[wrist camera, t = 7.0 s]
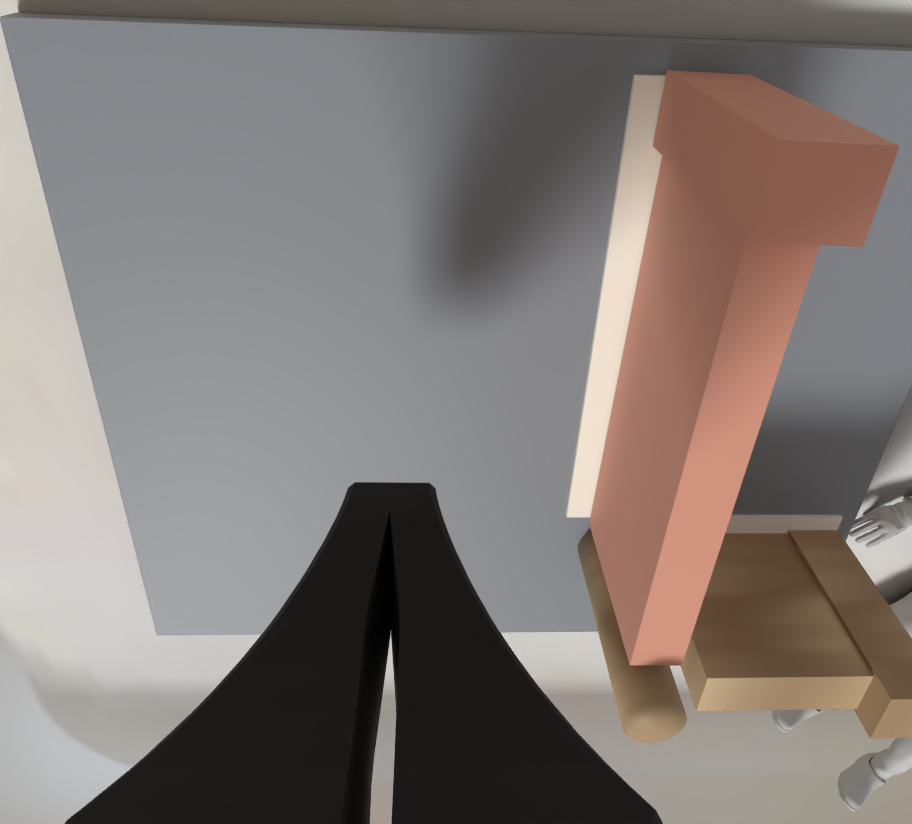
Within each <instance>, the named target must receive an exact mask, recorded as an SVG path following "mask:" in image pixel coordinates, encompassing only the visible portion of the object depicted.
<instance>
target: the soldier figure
mask: <svg viewBox="0 0 912 824" xmlns="http://www.w3.org/2000/svg"><path fill="white" fill-rule="evenodd" d="M871 520H873V521H871ZM868 521H871V522H869V523H867V524H865V525H863V526H861V527H859V528H857V529H855V530H853V531H852V532H850V536H852V537H853V536H856V535H859V534H860V533H863V532H865V531H867V530H870V529H872V528H875V527H878V528H877V529H875V530H873V531H871V532H869V533H866V534H864V535H862V536H860V537H858V538H856V540H855V541H856V542H857V543H861V542H863V541H866V540H869V539H871V538H873V537H876V536H878V535H881V534H882V535H881V536H879V537H877V538H876V539H874V540H872V541H870V542H868V543H867V544H866V547H868V548H870V547H872V546H874V545H877V544H879V543H881V542H883V541H885V540H887V539H889V538H891V537H893V536H895V535H897V534H898V533H900V532H901V531H903V530H905V529H906V528H907V527H909V526H910V525H912V496H907V497H905V498H904V500H903V502H899V503H896V504H894V505H888V506H881V507H878V508H877V509H875V510H872V511H870V512H869V513H867V514H866V515H864V516H862V517H860V518H858V519H856V520H855V521H854V523H853V525H852V528H854V527H856V526H858V525H860V524H863V523H865V522H868ZM852 528H851V529H852ZM883 533H884V534H883ZM889 606H890V607H891V609H892V610H893V612H894V613H895V615H896V616H897V618H898V619H899V621H900V622H901V624H902V625H903V626H904V628H905V629H906V631H907V632H908V634H909V635H910V637H911V638H912V591H911V592H910V593H909V594H907V595H906V596H905V597H904V598H902V599H900V600H899V601H897V602H895V603H893V604H891V605H889ZM821 711H824V709H797V710H772V717H773V719H774V721H775V723H776V725H777V726H778V728H779V729H780V730H781V731H782V732H788V731H790V730H791V729H793V728H794V727H796V726H797V725H799V724H800V723H802V722H803V721H804V720H806V719H808V718H809V717H811V716H813V715H814V714H818V713H820V712H821ZM910 768H912V738H896V739H895V740H894V741H893V742H892V744H891V746H890V747H889V748H888V749H885V750H883V751H881V752H879V753H869V754H866V755H864V756H862V757H860V758H859V759H858V760H857V761H855V763H854V764H853V765H851V766H850V767H849V768H848V769H846V770H845V771H843V772H842V773H840V776H839V780H838V789H839V793H840V796H841V798H842V800H843V801H844V803H845V804H846V806H847V807H848V808H849V809H850V810H852V811H855V810H857V809H858V808H859V807H861V806H862V805H863V803H864V802H865V801H866V800H867V799H868V797H869V796H870V795H871V793H872V792H873V791H874V790H875V789H876V788H877V787H879V786H881V785H883V784H885V782H886V780H887V779H888V778H889V777H891V776H892V775H894V774H900V773H903V772H905V771H907V770H908V769H910Z"/></svg>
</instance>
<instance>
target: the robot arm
mask: <svg viewBox="0 0 912 824" xmlns="http://www.w3.org/2000/svg"><path fill="white" fill-rule="evenodd" d="M390 634H391V638H392V653H393V668H394V683H395V699H396V737H395V761H394V783H393V807H392V824H663V823H662V821H661V819H660V817H659V815H658V813H657V811H656V810H655V809H654V808H653V807H652V806H651V805H650V804H649V803H647V802H646V801H645V800H644V799H643V798H642V797H641V796H640V795H639V794H638V793H637V792H636V791H634V790H633V789H632V788H631V787H630V786H629V785H628V784H627V783H626V782H625V781H624V780H623V779H622V778H621V777H620V776H619V775H618V774H617V773H616V772H615V771H614V770H613V769H612V768H611V767H610V766H609V765H608V764H607V763H606V762H605V761H604V760H603V759H602V758H601V757H600V756H599V755H598V754H597V753H596V752H595V751H594V750H593V749H592V748H591V747H590V746H589V744H588V743H587V742H586V741H585V740H584V739H583V738H582V737H581V736H580V735H579V734H578V733H577V732H576V731H575V729H574V728H573V727H572V726H571V725H570V723H569V722H568V721H567V720H566V719H565V717H564V716H563V715H562V714H561V713H560V712H559V710H558V709H557V708H556V707H555V706H554V704H553V703H552V702H551V701H550V700H549V699H548V697H547V696H546V695H545V694H544V693H543V691H542V690H541V689H540V688H539V687H538V685H537V684H536V683H535V681H534V680H533V679H532V677H531V676H530V675H529V673H528V672H527V670H526V669H525V668H524V666H523V665H522V664H521V662H520V661H519V660H518V658H517V657H516V655H515V654H514V652H513V651H512V649H511V648H510V647H509V645H508V644H507V642H506V641H505V639H504V638H503V636H502V635H501V633H500V631H499V630H498V628H497V627H496V625H495V623H494V622H493V620H492V619H491V617H490V615H489V613H488V612H487V610H486V608H485V606H484V605H483V603H482V601H481V599H480V598H479V596H478V594H477V592H476V590H475V589H474V587H473V585H472V583H471V581H470V579H469V577H468V575H467V573H466V571H465V569H464V567H463V564H462V562H461V560H460V558H459V556H458V554H457V552H456V550H455V547H454V545H453V543H452V540H451V538H450V535H449V533H448V530H447V527H446V525H445V522H444V519H443V516H442V513H441V510H440V506H439V503H438V498H437V493H436V488H435V487H434V486H432V485H431V484H430V483H395V482H354V483H353V484H352V485H351V486H350V487H348V489H347V492H346V495H345V498H344V500H343V503H342V505H341V508H340V510H339V512H338V514H337V516H336V518H335V520H334V522H333V524H332V526H331V528H330V530H329V532H328V534H327V536H326V538H325V540H324V541H323V543H322V545H321V547H320V548H319V550H318V552H317V553H316V555H315V557H314V559H313V560H312V562H311V564H310V565H309V567H308V569H307V570H306V572H305V574H304V575H303V577H302V578H301V580H300V581H299V583H298V584H297V586H296V587H295V589H294V590H293V592H292V593H291V595H290V596H289V597H288V599H287V600H286V602H285V603H284V605H283V606H282V608H281V609H280V611H279V612H278V613H277V615H276V616H275V618H274V619H273V620H272V622H271V623H270V624H269V626H268V627H267V628H266V630H265V631H264V632H263V633H262V635H261V636H260V637H259V638H258V640H257V641H256V642H255V643H254V645H253V646H252V647H251V648H250V649H249V651H248V652H247V653H246V654H245V656H244V657H243V658H242V659H241V660H240V661H239V663H238V664H237V665H236V666H235V667H234V668H233V669H232V670H231V671H230V673H229V674H228V675H227V676H226V677H225V678H224V679H223V680H222V681H221V683H220V684H219V685H218V686H217V687H216V688H215V689H214V690H213V691H212V692H211V693H210V695H209V696H208V697H207V698H206V699H205V700H204V701H203V702H202V703H201V704H200V705H199V706H198V707H197V708H196V709H195V710H194V711H193V712H192V713H191V714H190V715H189V716H188V717H187V718H186V719H184V720H183V721H182V722H181V723H180V724H179V725H178V726H177V727H176V728H175V729H174V730H173V731H172V732H171V733H170V734H169V735H167V736H166V737H165V738H164V739H163V740H162V741H161V742H160V743H159V744H158V745H157V746H156V747H155V748H154V749H153V750H151V751H150V752H149V753H148V754H147V755H146V756H145V757H144V758H143V759H142V760H140V761H139V762H138V763H137V764H136V765H135V766H133V767H132V768H131V769H130V770H129V771H127V772H126V773H125V774H124V775H123V776H121V777H120V778H119V779H118V780H116V781H115V782H114V783H113V784H111V785H110V786H109V787H108V788H107V789H105V790H104V791H103V792H102V793H100V794H99V795H98V796H97V797H95V798H94V799H93V800H92V801H91V802H89V803H88V804H87V805H86V806H85V807H83V808H82V809H81V810H79V811H78V812H77V813H76V814H74V815H73V816H72V817H70V819H68V820H67V821H66V823H65V824H370V802H371V782H372V772H373V761H374V752H375V745H376V737H377V730H378V723H379V715H380V708H381V701H382V693H383V686H384V679H385V671H386V664H387V656H388V649H389V641H390Z"/></svg>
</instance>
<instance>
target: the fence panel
mask: <svg viewBox="0 0 912 824" xmlns="http://www.w3.org/2000/svg"><path fill="white" fill-rule="evenodd" d="M653 147H654V148H655V149H656V150H657V151H658V152H659V153H660V154H661V155H662V159H661V164H660V169H659V174H658V179H657V184H656V189H655V195H654V200H653V205H652V210H651V215H650V220H649V225H648V230H647V235H646V240H645V245H644V250H643V255H642V260H641V265H640V270H639V275H638V280H637V285H636V290H635V295H634V300H633V305H632V310H631V315H630V320H629V325H628V330H627V335H626V340H625V345H624V350H623V355H622V360H621V365H620V370H619V375H618V380H617V385H616V391H615V396H614V401H613V406H612V411H611V416H610V421H609V426H608V431H607V436H606V441H605V446H604V451H603V456H602V461H601V466H600V471H599V476H598V481H597V486H596V491H595V496H594V501H593V506H592V511H591V516H590V521H589V525H590V528H591V532H592V535H593V539H594V542H595V546H596V549H597V553H598V556H599V560H600V563H601V567H602V570H603V574H604V577H605V581H606V584H607V588H608V591H609V595H610V598H611V602H612V605H613V609H614V612H615V616H616V619H617V623H618V626H619V630H620V633H621V637H622V640H623V644H624V647H625V650H626V654H627V657H628V661H629V664H630V665H682V663H683V660H684V657H685V654H686V651H687V648H688V645H689V642H690V639H691V636H692V633H693V630H694V627H695V624H696V621H697V618H698V615H699V611H700V608H701V605H702V602H703V599H704V596H705V593H706V590H707V587H708V584H709V581H710V578H711V575H712V572H713V569H714V566H715V563H716V560H717V557H718V554H719V551H720V548H721V545H722V542H723V539H724V536H725V532H726V529H727V526H728V523H729V520H730V517H731V514H732V511H733V508H734V505H735V502H736V499H737V496H738V493H739V490H740V487H741V484H742V481H743V478H744V475H745V472H746V469H747V466H748V463H749V460H750V457H751V453H752V450H753V447H754V444H755V441H756V438H757V435H758V432H759V429H760V426H761V423H762V420H763V417H764V414H765V411H766V408H767V405H768V402H769V399H770V396H771V393H772V390H773V387H774V384H775V381H776V378H777V374H778V371H779V368H780V365H781V362H782V359H783V356H784V353H785V350H786V347H787V344H788V341H789V338H790V335H791V332H792V329H793V326H794V323H795V320H796V317H797V314H798V311H799V308H800V305H801V302H802V299H803V295H804V292H805V289H806V286H807V283H808V280H809V277H810V274H811V271H812V268H813V265H814V262H815V259H816V256H817V253H818V250H819V247H820V245H825V246H850V247H863V246H864V243H865V240H866V238H867V235H868V232H869V229H870V227H871V224H872V221H873V218H874V216H875V213H876V210H877V207H878V204H879V202H880V199H881V196H882V193H883V191H884V188H885V185H886V182H887V180H888V177H889V174H890V171H891V169H892V166H893V163H894V160H895V157H896V155H897V152H898V149H899V146H898V145H896V144H894V143H892V142H890V141H888V140H886V139H884V138H882V137H880V136H878V135H875V134H873V133H871V132H869V131H867V130H865V129H863V128H861V127H859V126H857V125H855V124H852V123H850V122H848V121H846V120H844V119H842V118H840V117H838V116H836V115H834V114H832V113H829V112H827V111H825V110H823V109H821V108H819V107H817V106H815V105H813V104H811V103H809V102H806V101H804V100H802V99H800V98H798V97H796V96H794V95H792V94H790V93H788V92H786V91H783V90H781V89H779V88H777V87H775V86H773V85H771V84H769V83H767V82H765V81H763V80H760V79H758V78H756V77H754V76H752V75H745V74H727V73H709V72H691V71H672V70H667V73H666V78H665V84H664V89H663V94H662V99H661V105H660V110H659V115H658V120H657V126H656V131H655V136H654V141H653Z"/></svg>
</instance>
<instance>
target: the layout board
mask: <svg viewBox="0 0 912 824" xmlns="http://www.w3.org/2000/svg"><path fill="white" fill-rule="evenodd" d="M0 22H1V25H2V29H3V33H4V37H5V41H6V45H7V49H8V53H9V57H10V61H11V65H12V69H13V73H14V77H15V80H16V84H17V88H18V92H19V96H20V100H21V104H22V108H23V112H24V116H25V120H26V124H27V128H28V131H29V135H30V139H31V143H32V147H33V151H34V155H35V159H36V163H37V167H38V171H39V175H40V179H41V182H42V186H43V190H44V194H45V198H46V202H47V206H48V210H49V214H50V218H51V222H52V226H53V230H54V234H55V237H56V241H57V245H58V249H59V253H60V257H61V261H62V265H63V269H64V273H65V277H66V281H67V285H68V288H69V292H70V296H71V300H72V304H73V308H74V312H75V316H76V320H77V324H78V328H79V332H80V336H81V340H82V343H83V347H84V351H85V355H86V359H87V363H88V367H89V371H90V375H91V379H92V383H93V387H94V391H95V394H96V398H97V402H98V406H99V410H100V414H101V418H102V422H103V426H104V430H105V434H106V438H107V442H108V445H109V449H110V453H111V457H112V461H113V465H114V469H115V473H116V477H117V481H118V485H119V489H120V493H121V497H122V500H123V504H124V508H125V512H126V516H127V520H128V524H129V528H130V532H131V536H132V540H133V544H134V548H135V551H136V555H137V559H138V563H139V567H140V571H141V575H142V579H143V583H144V587H145V591H146V595H147V599H148V603H149V606H150V610H151V614H152V618H153V622H154V626H155V630H156V634H157V635H255V634H262V633H263V632H264V631H265V630H266V628H267V627H268V626H269V624H270V623H271V622H272V620H273V619H274V618H275V616H276V615H277V613H278V612H279V611H280V609H281V608H282V606H283V605H284V603H285V602H286V600H287V599H288V597H289V596H290V595H291V593H292V592H293V590H294V589H295V587H296V586H297V584H298V583H299V581H300V580H301V578H302V577H303V575H304V574H305V572H306V570H307V569H308V567H309V565H310V564H311V562H312V560H313V559H314V557H315V555H316V553H317V552H318V550H319V548H320V547H321V545H322V543H323V541H324V540H325V538H326V536H327V534H328V532H329V530H330V528H331V526H332V524H333V522H334V520H335V518H336V516H337V514H338V512H339V510H340V508H341V505H342V503H343V500H344V498H345V495H346V492H347V489H348V487H350V486H351V485H352V484H353V483H354V482H395V483H430V484H431V485H432V486H434V487H435V488H436V493H437V498H438V503H439V506H440V510H441V513H442V516H443V519H444V522H445V525H446V527H447V530H448V533H449V535H450V538H451V540H452V543H453V545H454V547H455V550H456V552H457V554H458V556H459V558H460V560H461V562H462V564H463V567H464V569H465V571H466V573H467V575H468V577H469V579H470V581H471V583H472V585H473V587H474V589H475V590H476V592H477V594H478V596H479V598H480V599H481V601H482V603H483V605H484V606H485V608H486V610H487V612H488V613H489V615H490V617H491V619H492V620H493V622H494V623H495V625H496V627H497V628H498V630H499V631H500V632H593V631H598V629H597V625H596V621H595V617H594V613H593V609H592V605H591V601H590V597H589V594H588V590H587V586H586V582H585V578H584V574H583V570H582V566H581V562H580V558H579V554H578V549H577V548H578V544H579V541H580V540H581V538H582V537H583V536H584V535H585V534H587V533H588V532H590V531H591V528H590V525H589V521H590V516H591V511H592V506H593V501H594V496H595V491H596V486H597V481H598V476H599V471H600V466H601V461H602V456H603V451H604V446H605V441H606V436H607V431H608V426H609V421H610V416H611V411H612V406H613V401H614V396H615V391H616V385H617V380H618V375H619V370H620V365H621V360H622V355H623V350H624V345H625V340H626V335H627V330H628V325H629V320H630V315H631V310H632V305H633V300H634V295H635V290H636V285H637V280H638V275H639V270H640V265H641V260H642V255H643V250H644V245H645V240H646V235H647V230H648V225H649V220H650V215H651V210H652V205H653V200H654V195H655V189H656V184H657V179H658V174H659V169H660V164H661V159H662V155H661V154H660V153H659V152H658V151H657V150H656V149H655V148H654V147H653V141H654V136H655V131H656V126H657V120H658V115H659V110H660V105H661V99H662V94H663V89H664V84H665V78H666V73H667V70H672V71H691V72H709V73H727V74H745V75H752V76H754V77H756V78H758V79H760V80H763V81H765V82H767V83H769V84H771V85H773V86H775V87H777V88H779V89H781V90H783V91H786V92H788V93H790V94H792V95H794V96H796V97H798V98H800V99H802V100H804V101H806V102H809V103H811V104H813V105H815V106H817V107H819V108H821V109H823V110H825V111H827V112H829V113H832V114H834V115H836V116H838V117H840V118H842V119H844V120H846V121H848V122H850V123H852V124H855V125H857V126H859V127H861V128H863V129H865V130H867V131H869V132H871V133H873V134H875V135H878V136H880V137H882V138H884V139H886V140H888V141H890V142H892V143H894V144H896V145H898V146H899V149H898V152H897V155H896V157H895V160H894V163H893V166H892V169H891V171H890V174H889V177H888V180H887V182H886V185H885V188H884V191H883V193H882V196H881V199H880V202H879V204H878V207H877V210H876V213H875V216H874V218H873V221H872V224H871V227H870V229H869V232H868V235H867V238H866V240H865V243H864V246H863V247H850V246H825V245H820V247H819V250H818V253H817V256H816V259H815V262H814V265H813V268H812V271H811V274H810V277H809V280H808V283H807V286H806V289H805V292H804V295H803V299H802V302H801V305H800V308H799V311H798V314H797V317H796V320H795V323H794V326H793V329H792V332H791V335H790V338H789V341H788V344H787V347H786V350H785V353H784V356H783V359H782V362H781V365H780V368H779V371H778V374H777V378H776V381H775V384H774V387H773V390H772V393H771V396H770V399H769V402H768V405H767V408H766V411H765V414H764V417H763V420H762V423H761V426H760V429H759V432H758V435H757V438H756V441H755V444H754V447H753V450H752V453H751V457H750V460H749V463H748V466H747V469H746V472H745V475H744V478H743V481H742V484H741V487H740V490H739V493H738V496H737V499H736V502H735V505H734V508H733V511H732V514H731V517H730V520H729V523H728V526H727V529H726V532H725V533H788V531H789V530H838V532H839V533H840V535H841V536H842V538H843V539H844V540H845V542H846V540H847V537H848V535H849V532H850V530H851V528H852V525H853V523H854V521H855V518H856V516H857V514H858V511H859V509H860V506H861V504H862V502H863V499H864V497H865V495H866V492H867V490H868V488H869V485H870V483H871V480H872V478H873V476H874V473H875V471H876V469H877V466H878V464H879V462H880V459H881V457H882V454H883V452H884V450H885V447H886V445H887V443H888V440H889V438H890V436H891V433H892V431H893V428H894V426H895V424H896V421H897V419H898V417H899V414H900V412H901V410H902V407H903V405H904V402H905V400H906V398H907V395H908V393H909V391H910V388H911V386H912V47H905V46H879V45H852V44H826V43H800V42H773V41H747V40H721V39H694V38H668V37H642V36H616V35H589V34H563V33H537V32H510V31H484V30H458V29H431V28H405V27H379V26H352V25H326V24H300V23H273V22H247V21H221V20H195V19H168V18H142V17H116V16H89V15H63V14H37V13H13V14H9V15H5V16H1V17H0Z"/></svg>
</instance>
